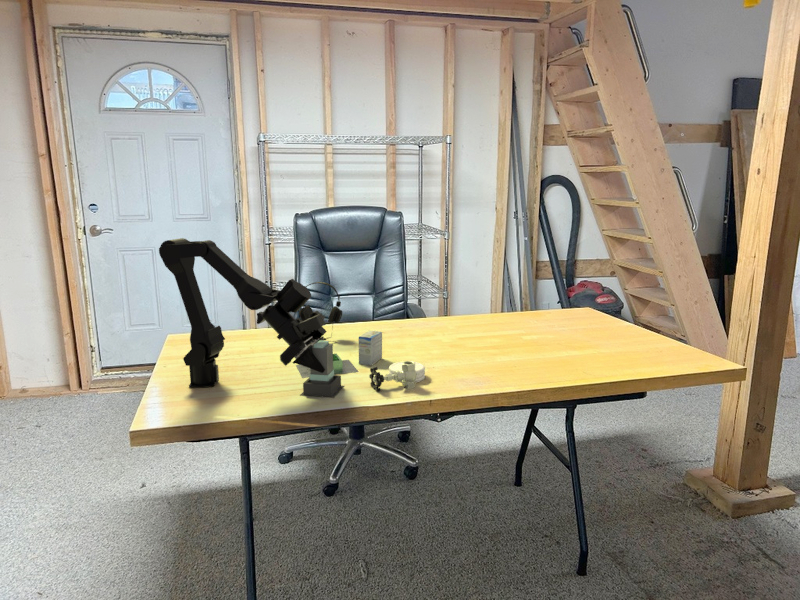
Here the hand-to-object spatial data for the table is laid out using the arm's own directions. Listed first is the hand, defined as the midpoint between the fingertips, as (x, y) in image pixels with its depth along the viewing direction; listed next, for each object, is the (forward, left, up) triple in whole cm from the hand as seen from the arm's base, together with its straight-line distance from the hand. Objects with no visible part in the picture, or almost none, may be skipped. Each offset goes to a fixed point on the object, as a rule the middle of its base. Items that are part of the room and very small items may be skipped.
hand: (327, 368), depth 144 cm
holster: (-1, 0, -7) cm, 7 cm away
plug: (-1, 0, -6) cm, 6 cm away
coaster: (+22, +10, -7) cm, 25 cm away
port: (-1, +18, -7) cm, 20 cm away
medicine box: (+13, +25, -7) cm, 29 cm away
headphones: (-3, +51, -7) cm, 52 cm away
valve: (+18, +1, -7) cm, 19 cm away
